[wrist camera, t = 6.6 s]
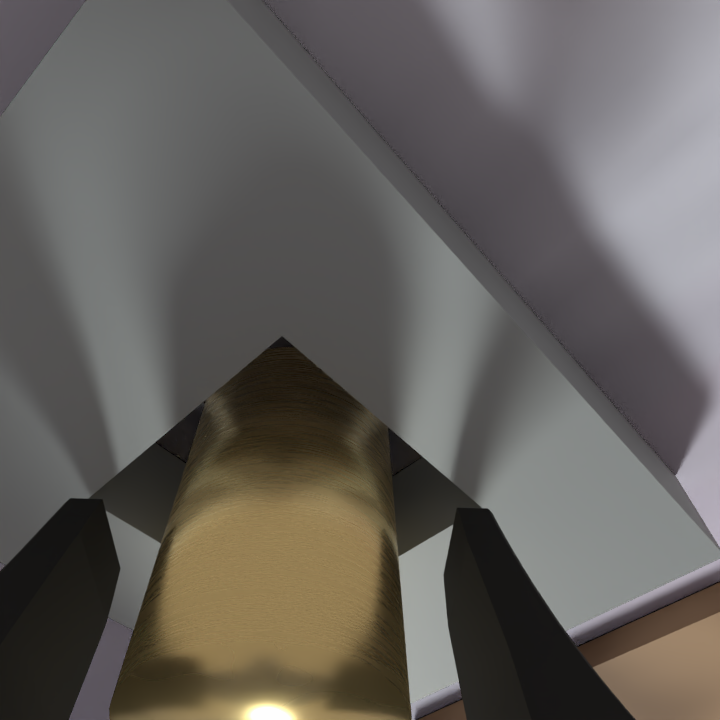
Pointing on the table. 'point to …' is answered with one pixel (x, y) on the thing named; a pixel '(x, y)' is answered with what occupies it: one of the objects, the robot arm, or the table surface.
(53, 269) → the grey square socket plate
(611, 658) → the stand pad
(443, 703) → the table surface
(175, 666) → the brass peg
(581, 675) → the robot arm
